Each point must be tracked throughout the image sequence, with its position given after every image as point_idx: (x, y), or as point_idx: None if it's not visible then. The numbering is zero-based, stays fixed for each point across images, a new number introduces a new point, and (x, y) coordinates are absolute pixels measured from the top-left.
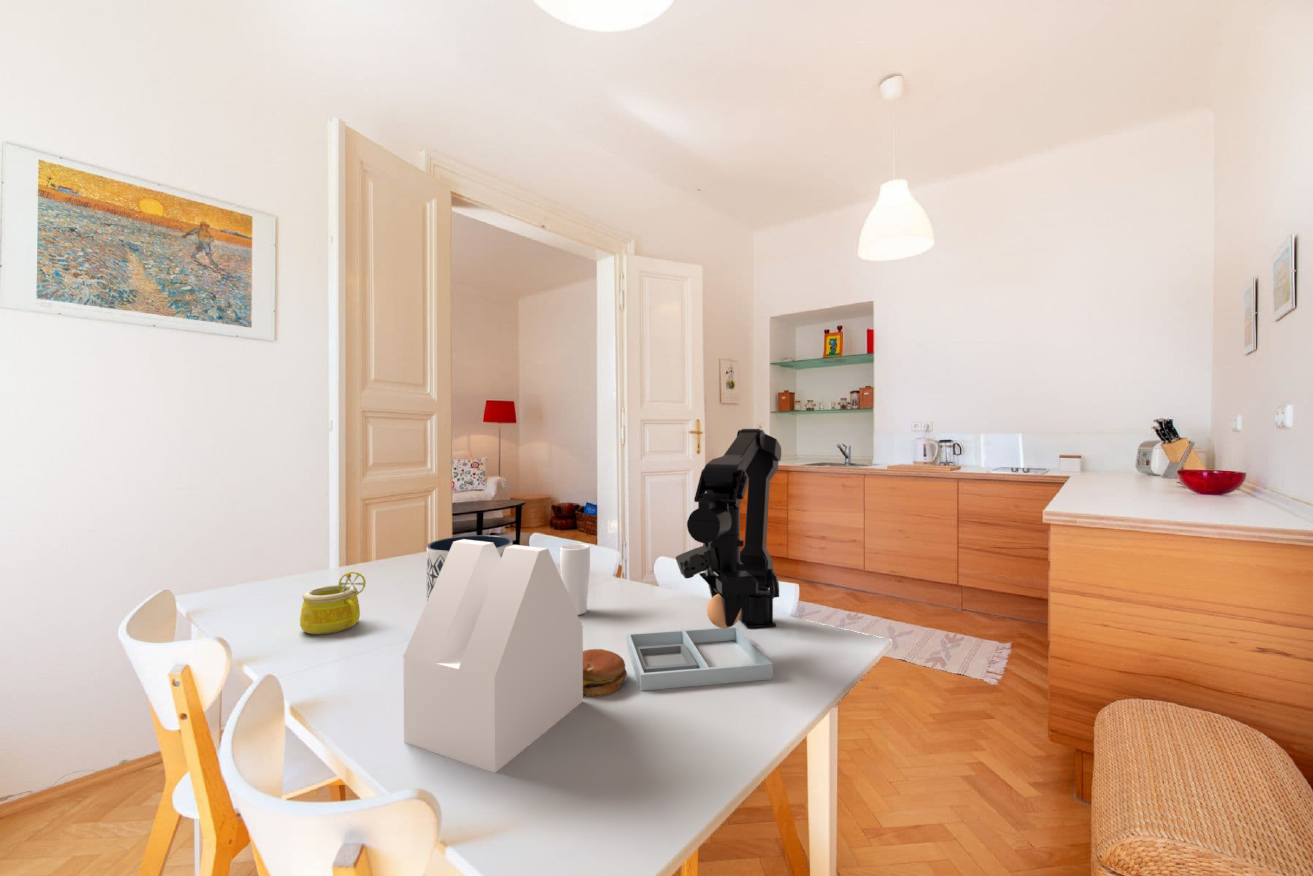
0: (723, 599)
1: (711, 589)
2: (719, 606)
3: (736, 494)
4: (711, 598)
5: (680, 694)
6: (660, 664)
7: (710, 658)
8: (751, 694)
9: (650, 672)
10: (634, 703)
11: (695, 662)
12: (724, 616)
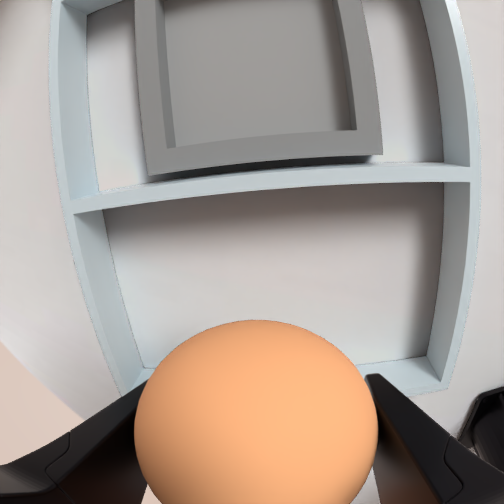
0: (18, 471)
1: (430, 492)
2: (137, 436)
3: None
4: (278, 451)
5: (49, 115)
6: (234, 40)
7: (294, 244)
8: (60, 300)
9: (58, 18)
10: (33, 15)
11: (171, 170)
12: (136, 406)
